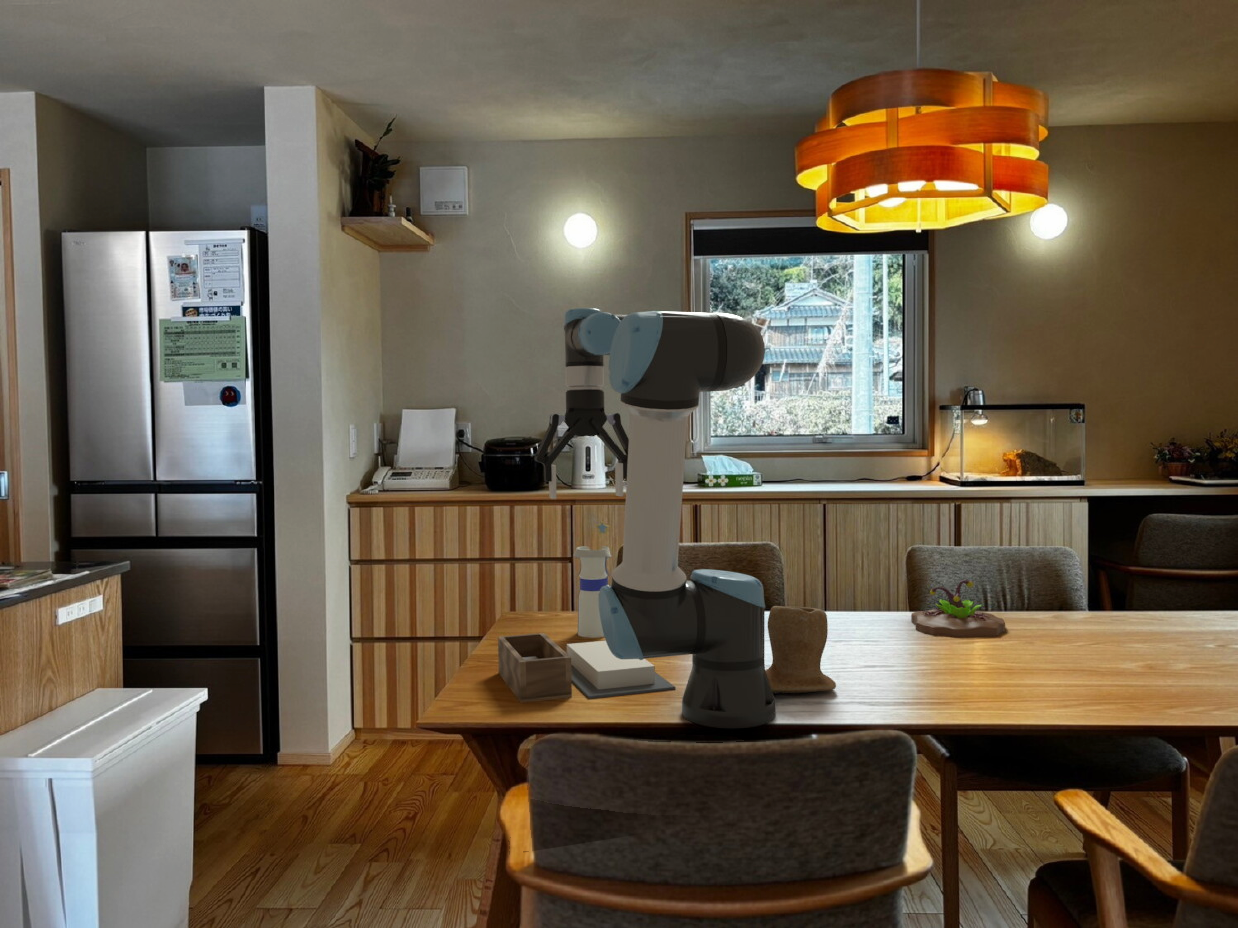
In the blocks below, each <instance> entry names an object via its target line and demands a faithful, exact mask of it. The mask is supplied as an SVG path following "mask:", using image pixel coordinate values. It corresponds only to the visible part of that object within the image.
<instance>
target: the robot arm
mask: <svg viewBox="0 0 1238 928" xmlns="http://www.w3.org/2000/svg"><path fill="white" fill-rule="evenodd" d="M563 331H564V350H565V351H564V354H565V355H564V357H565V358H564V360H565V387H567V388H568V390H566V391H565V413H564V415H560V414H557V413H552V414H550V415H549V424H548V427H547V428H546V431H545V434H544V436H543V438H542V439H541V440H542V441H540V444H539V446H538V449H537V451H536V453H535V455H534V458H533V460H534V462H537V463H541V464H542V465H543V479H544V482H546V483H547V482H548V490H549V491H548V493H549V494H548V495H549V496H548V497H549V499H551V500H557V465H555V464H553V462H554V461H555V460H556V459H557V457H558V456H559V455H560V454H561V452H563V450H564V449H565V448H566V446H567V445H568V444H569V443H570V442H571V440H572V439H573V438H574V437H578V438H579V437H580V438H581V437H595V436H597V438H599V439H600V440H601V441H602V443H603V444H604V445H605V447H607V449H608V450H609V451H610V452H611V453H612V455H614V457H615V458H616V459H617V461H618V462H615V463H614V467H615V469H614V472H615V473H614V474H615V475H614V477H615V479H614V480H615V481H614V485H615V489H614V490H615V496H618V497H624V480H626V485H625V486H626V487H625V490H626V491H625V505H624V506H625V509H624V528H623V545H622V546H623V547H622V562H621V563H620V564H618V565H617V566H616V567H615V568H614V569H613V570H612V573H611V584H608V585H606V586H603V587H601V589H600V593H599V599H598V600H599V613H600V620H601V625H602V629H603V633H604V637H603V638H604V641H606V643H607V645H608V647H609V649H610V651H611V653H612V654H613V655H614V656H615V657H617V658H619V659H639V660H643V659H646V660H647V659H655V658H656V659H657V658H665V657H666V658H667V657H668V658H669V657H677V656H688V655H692V658H691V659H692V660H691V661H692V664H691V665H692V666H691V670H690V673H689V676H688V681H687V683H686V686H685V689H684V694H683V696H682V700H681V715H682V716H683V718H684V719H686V720H687V721H688V722H692V723H694V724H696V725H700V726H705V727H710V728H715V729H716V728H717V729H747V728H754V727H755V728H756V727H759V726H762V725H766V724H768V722H769V723H770V722H772V721H774V719H775V718H776V717H777V714H776V713H777V712H776V710H777V708H776V707H777V705H776V703H777V702H776V698H775V696H774V693H773V692H772V689H771V686H770V683H769V680H768V677H767V674H766V671H765V670H766V667H765V613H766V612H765V609H766V604H765V603H766V602H765V595H764V594H765V593H764V585H763V584H762V581H760V579H758V578H756V577H754V576H752V575H749V574H745V573H740V572H735V571H727V570H719V569H705V568H704V569H703V568H701V569H693V570H692V572H691V575H690V576H689V578H690V580H687V575H686V573H685V572H684V571H683V570H682V569H681V567H679V566H678V565H679V563H678V562H679V553H680V552H679V550H680V549H679V548H680V538H681V537H680V534H681V522H682V521H681V520H682V518H681V517H682V507H683V505H682V503H683V491H684V474H685V459H686V445H687V444H686V443H687V430H688V429H687V428H688V417H689V416H690V415H691V414H692V413H693V412H694V411H695V410H697V409H698V407H699V405H700V403H699V402H700V400H699V399H700V393H703V392H705V393H707V392H723V391H729V390H732V389H736V388H738V387H741V386H743V385H744V384H746V383H748V382H749V381H750V380H752V378H754V377H755V376H756V374H757V373H758V372H759V371H760V369H761V368H762V365H763V363H764V360H765V355H766V354H765V353H766V345H765V341H764V337H763V336H762V334H761V332H760V330H759V329H758V327H757V326H755V324H753V323H752V322H751V321H749V320H748V319H746V318H744V317H741V316H739V315H736V314H733V313H724V312H694V311H692V312H690V311H688V312H687V311H663V310H661V311H659V310H650V311H637V312H635V311H634V312H631V313H629V314H612V313H610V312H602V310H601V309H598V308H593V307H592V308H591V307H579V308H577V307H576V308H570V309H568V310H567V311H566V312H565V314H564V325H563ZM604 356H609V360H608V370H609V374H608V379H609V383H610V387H611V388H612V390H613V391H614V392H616V393H618V394H620V401H619V402H620V404H621V405H622V406H623V407H624V408H625V409H626V410H627V412H628V413H629V429H628V431H629V432H628V435H627V433H626V430H625V429H624V427H623V425H622V420H621V414H620V413H618V412H613V413H611V414H606V412H605V391H604V390H603V389H602V388H603V387H604V386H605V369H604V365H605V363H604ZM563 422H564V423H565V425H566V426H567V428H566V430H565V431H564V433H563V435H562V436H561V437H560V438H559V440H558V441H557V442H556V444H555V445H554V446H553V447H552V449H551V450H550V451H549V452H548V450H549V448H550V446H551V443H552V441H553V439H554V438H555V435H556V432H557V430H558V428H559V426H561V425H562V423H563ZM607 422H608V424H609V425H610V426H611V427H612V429H613V431H614V433H615V435H616V437H617V439H618V442H619V443H620V445H621V447H622V449H623V450H622V449H621V448H620V447H619V446H618V445H617V443H616V442H615V441H614V440H613V439H612V437H611V436H610V435H609V434H608V432H607V430H605V428H604V425H605V424H606V423H607ZM623 451H624V452H623ZM547 452H548V454H547ZM546 454H547V455H546ZM765 723H766V724H765Z"/></svg>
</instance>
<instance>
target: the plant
mask: <svg viewBox="0 0 1238 928" xmlns="http://www.w3.org/2000/svg"><path fill="white" fill-rule="evenodd" d="M963 584H965V585H966V587H968V588H970V589H971V588H973V586H974V582H973V581H972V580H970V579H962V580H961V581H960V582H959V583H958V585H956V588H955V594H953V593H951V591H950V590H949V589H947V588H945V587H942V586H937V587H933V588H931V589H930V591H929V593H930V595H931V596H934V595H935V594H936V593H937V590H941V591H942V592H943V591H944V593H945V595H947V599H948V601H947V600H945V599H942V598H940V599H939V603H940V604H938V603H935V606H936V607H935V608H932V609H929V610H923V611H921V610H920V611H914V612H912V613H911V616H910V617H911V620H910V621H911V623H912V624H913V625H914V626H915V631H918V632H920V633H923V634H926V635H930V636H945V637H953V638H987V637H988V638H993V637H995V638H996V637H998V636H1000V635H1001V634H1004V633H1005V632H1006V622H1005V620H1004V618H1002V617H1001V618H1000V617H997V616H996V615H994V614H992V613H988V612H986V611H985V612H984V611H978V609H979V608H980V607H981V606H982V604H977V605H975V606H974V607H973V603H974V601H973V600H970V599H965V600H962V599H961V597H962V596H961V587H962V585H963ZM971 608H972V609H971ZM999 634H1000V635H999Z"/></svg>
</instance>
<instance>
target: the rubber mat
mask: <svg viewBox="0 0 1238 928" xmlns="http://www.w3.org/2000/svg"><path fill="white" fill-rule="evenodd" d="M571 677H572V684H573V685H574V686H576V688H577V689H578V690H579V691H581V693H582V694H583V695H584V697H586V698H587V699H588V700H592V699H602V698H609V697H610V698H611V697H612V698H613V697H619V696H628V695H638V694H649V693H655V692H664V691H665V692H666V691H675V690H676V686H675V685H674V684H673V683H671V682H669V681H668V680H667V679H666V678H664V677H663V676H661V675H660V674H659V673H657V672H656V671H655V684H646V685H637V686H627V687H618V688H608V689H599V690H598V689H597V688H596V687H595V686H594V685H593V684H592V683H591V682H590V681H589V680H588V679H587V678H586V677H584V676H583V675H582V674H581V673H580V672H579V671H578V670H577V669H576V668H575V667H574V666H573V665H572V664H571Z"/></svg>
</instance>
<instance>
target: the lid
mask: <svg viewBox="0 0 1238 928" xmlns="http://www.w3.org/2000/svg"><path fill="white" fill-rule="evenodd" d="M566 653H567V654H568V655H569V656H570V657H571V664H572V665H573V666H574V667H575V668H576V669H577V670H578V671H579V672H580V673H581V674H582V675H583V676H584V677H586V678H587V679H588V680H589V681H590V682H591V683H592V684H593V685H594V686H595V687H596V688H597V689H598V690H599V689H608V688H618V687H627V686H637V685H646V684H655V672H656V670H655V669H656V667H655V665H654V664H652V662H650V661H648V659H647V658H646V659H643V660H639V659H619V658H617V657H615V656H614V655H613V654H612V653H611V651H610V649H609V647H608V645H607V643H606V640H598V641H587V642H576V643H575V642H574V643H566Z"/></svg>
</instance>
